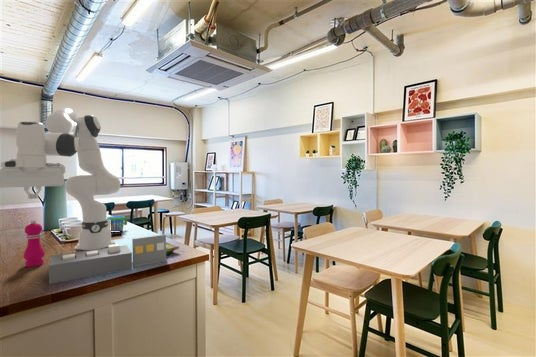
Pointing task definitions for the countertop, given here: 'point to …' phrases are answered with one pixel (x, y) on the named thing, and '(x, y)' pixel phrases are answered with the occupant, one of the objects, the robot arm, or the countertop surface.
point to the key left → (68, 256)
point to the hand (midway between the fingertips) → (33, 198)
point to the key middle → (92, 253)
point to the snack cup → (117, 222)
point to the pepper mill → (33, 245)
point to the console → (88, 264)
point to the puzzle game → (170, 248)
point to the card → (149, 250)
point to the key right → (113, 248)
